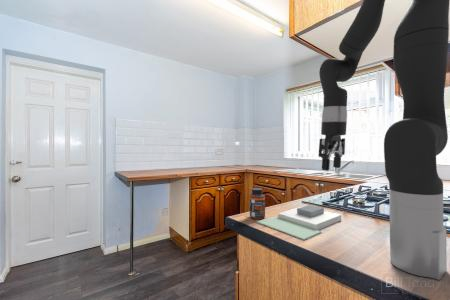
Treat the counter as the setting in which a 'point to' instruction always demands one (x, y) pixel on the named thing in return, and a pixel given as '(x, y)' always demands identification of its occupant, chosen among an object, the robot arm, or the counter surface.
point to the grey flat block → (310, 211)
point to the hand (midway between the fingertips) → (331, 168)
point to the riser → (310, 219)
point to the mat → (289, 228)
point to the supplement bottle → (257, 204)
